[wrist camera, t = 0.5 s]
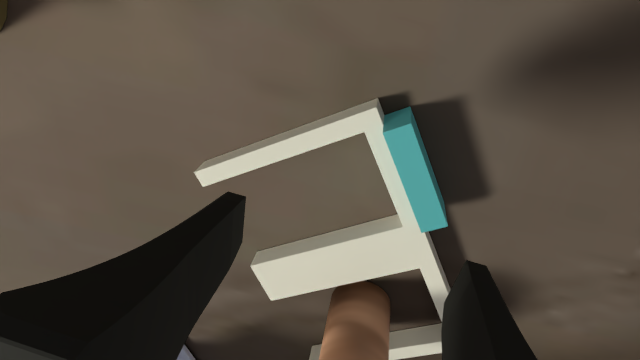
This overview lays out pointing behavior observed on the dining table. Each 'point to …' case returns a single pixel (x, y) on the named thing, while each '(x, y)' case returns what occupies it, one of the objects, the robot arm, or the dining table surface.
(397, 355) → the slot rack
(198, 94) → the dining table surface
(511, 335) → the robot arm
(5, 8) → the olive yellow shaker
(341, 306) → the peg
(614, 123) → the dining table surface
